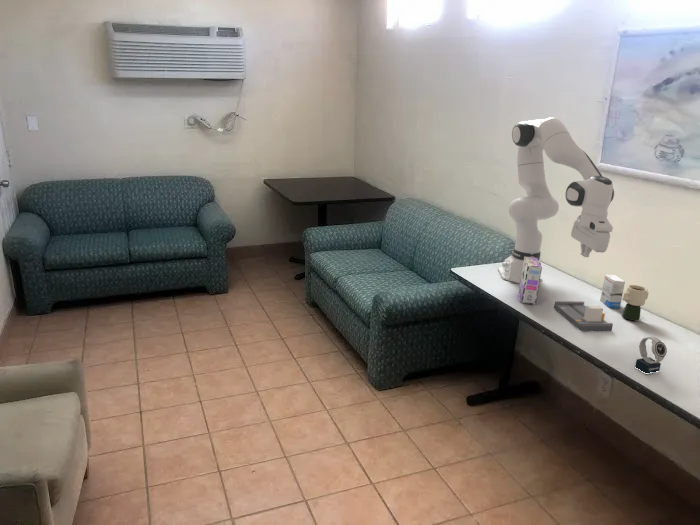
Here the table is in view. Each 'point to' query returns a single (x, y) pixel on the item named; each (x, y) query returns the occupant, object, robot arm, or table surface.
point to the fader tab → (593, 314)
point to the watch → (646, 362)
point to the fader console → (580, 316)
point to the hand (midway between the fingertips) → (584, 256)
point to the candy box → (530, 280)
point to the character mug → (634, 301)
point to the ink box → (612, 291)
